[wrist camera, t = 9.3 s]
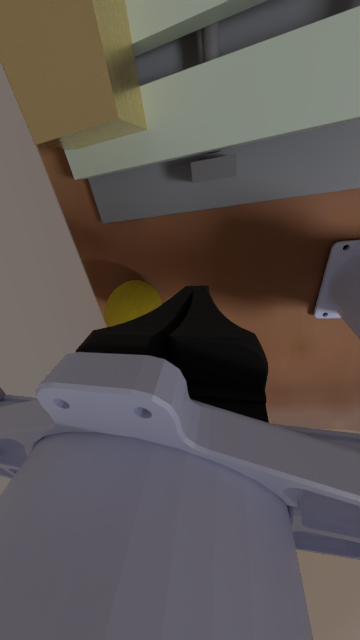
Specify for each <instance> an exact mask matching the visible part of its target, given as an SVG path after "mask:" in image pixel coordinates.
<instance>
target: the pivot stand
mask: <svg viewBox="0 0 360 640" xmlns="http://www.w3.org/2000/svg"><path fill="white" fill-rule="evenodd" d="M358 6H360V0H267V1H265V2H263V3H260V4H258V5H256V6H253V7H251V8H249V9H246V10H244V11H241V12H239V13H237V14H234V15H232V16H230V17H227V18H225V19H223V20H220V21H219V34H220V57H222V56H224V55H227V54H230V53H232V52H235V51H238V50H241V49H243V48H246V47H249V46H252V45H254V44H257V43H260V42H263V41H265V40H268V39H271V38H273V37H276V36H279V35H282V34H284V33H287V32H290V31H293V30H295V29H298V28H301V27H304V26H306V25H309V24H312V23H315V22H317V21H320V20H323V19H325V18H328V17H331V16H334V15H336V14H339V13H342V12H345V11H347V10H350V9H353V8H356V7H358ZM135 61H136V67H137V73H138V78H139V84H140V86H142V85H145V84H148V83H150V82H153V81H156V80H159V79H161V78H164V77H167V76H170V75H172V74H175V73H178V72H180V71H183V70H186V69H189V68H191V67H194V66H197V65H200V64H202V63H203V59H202V40H201V29H199V30H197V31H194V32H192V33H190V34H187V35H185V36H182V37H180V38H178V39H175V40H173V41H171V42H168V43H166V44H164V45H161V46H159V47H156V48H154V49H152V50H149V51H147V52H145V53H142V54H140V55H138V56H135ZM88 180H89V183H90V186H91V190H92V193H93V196H94V199H95V202H96V205H97V208H98V211H99V214H100V217H101V220H102V223H103V224H105V223H112V222H119V221H126V220H133V219H140V218H147V217H155V216H162V215H169V214H176V213H183V212H190V211H197V210H205V209H212V208H219V207H226V206H233V205H240V204H248V203H255V202H262V201H269V200H276V199H283V198H290V197H298V196H305V195H312V194H319V193H326V192H333V191H340V190H348V189H355V188H360V119H359V120H355V121H350V122H345V123H341V124H336V125H332V126H327V127H323V128H318V129H313V130H309V131H304V132H300V133H295V134H290V135H286V136H281V137H277V138H272V139H267V140H263V141H258V142H254V143H249V144H244V145H240V146H235V147H231V148H226V149H222V151H220V152H216V153H210V154H207V153H203V154H199V155H194V156H189V157H185V158H180V159H176V160H171V161H166V162H162V163H157V164H153V165H148V166H143V167H139V168H134V169H130V170H125V171H120V172H116V173H111V174H107V175H102V176H98V177H93V178H88Z"/></svg>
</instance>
